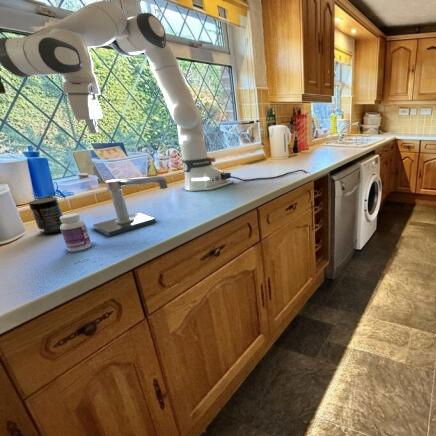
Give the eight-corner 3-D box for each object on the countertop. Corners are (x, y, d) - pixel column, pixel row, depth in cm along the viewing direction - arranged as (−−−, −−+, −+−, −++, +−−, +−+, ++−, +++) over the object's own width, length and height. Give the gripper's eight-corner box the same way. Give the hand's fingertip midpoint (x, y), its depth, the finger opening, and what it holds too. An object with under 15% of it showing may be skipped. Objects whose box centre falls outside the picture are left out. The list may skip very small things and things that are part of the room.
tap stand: (139, 216, 109) (130, 183, 105) (155, 222, 102) (147, 187, 98) (94, 228, 98) (82, 192, 94) (109, 236, 92) (97, 198, 87)
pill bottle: (94, 247, 85) (83, 214, 81) (70, 253, 81) (58, 220, 78) (89, 242, 88) (79, 211, 85) (66, 248, 84) (54, 216, 81)
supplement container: (73, 228, 100) (62, 197, 96) (51, 236, 93) (39, 204, 90) (57, 227, 101) (46, 197, 97) (35, 235, 95) (22, 203, 91)
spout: (106, 194, 94) (102, 181, 93) (111, 191, 98) (108, 179, 96) (166, 189, 98) (163, 177, 97) (168, 186, 102) (166, 174, 100)
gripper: (79, 90, 104) (90, 131, 109) (59, 86, 87) (74, 136, 92) (101, 90, 107) (111, 131, 112) (86, 87, 89) (99, 135, 94)
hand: (94, 133), depth 102 cm, fingers closed
